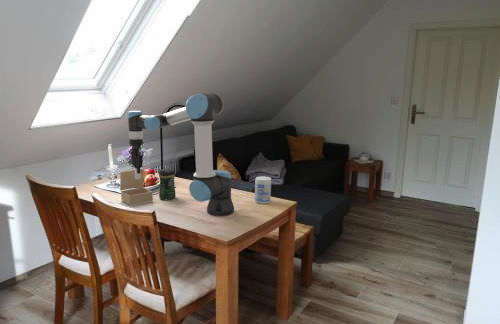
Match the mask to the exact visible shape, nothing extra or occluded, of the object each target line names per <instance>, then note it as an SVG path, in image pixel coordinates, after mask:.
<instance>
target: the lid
mask: <svg viewBox="0 0 500 324" xmlns="http://www.w3.org/2000/svg"><path fill="white" fill-rule="evenodd" d="M119 173H120V174H119V175H120V176H119V177H120V178H119V179H120V180H119V181H120V182H119V183H120V185H119V187H120V188H119V190H120V192H121V191H125V190H130V189H136V188H141V187H144V175H145V168H144V167H141V168H140V174H141V178H140V179H135V168H134V169H129V170H121V171H120V172H119Z"/></svg>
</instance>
